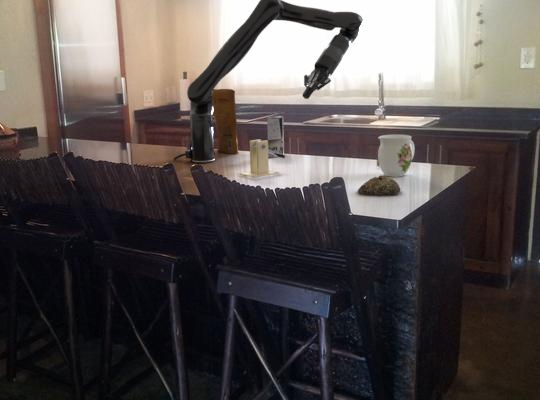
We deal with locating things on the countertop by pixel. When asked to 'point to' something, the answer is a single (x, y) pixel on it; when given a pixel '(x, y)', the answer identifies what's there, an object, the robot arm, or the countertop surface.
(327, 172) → the countertop surface
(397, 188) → the mossy brown rock
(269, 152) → the lever
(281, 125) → the coffee box
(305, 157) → the countertop surface
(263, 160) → the bracket
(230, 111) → the pancake mix bag
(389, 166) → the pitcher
